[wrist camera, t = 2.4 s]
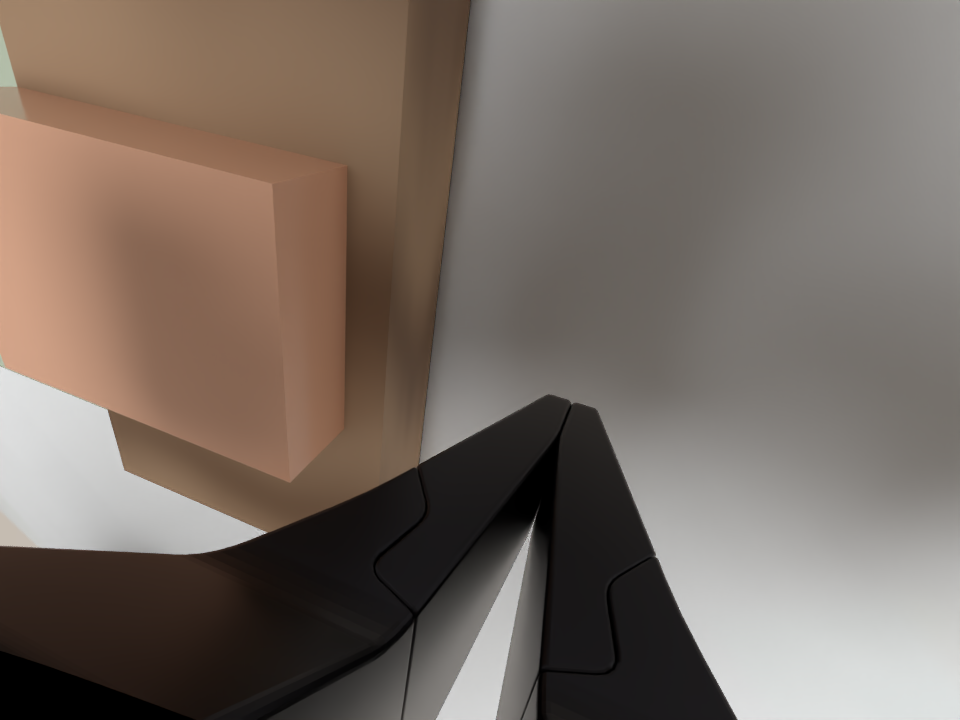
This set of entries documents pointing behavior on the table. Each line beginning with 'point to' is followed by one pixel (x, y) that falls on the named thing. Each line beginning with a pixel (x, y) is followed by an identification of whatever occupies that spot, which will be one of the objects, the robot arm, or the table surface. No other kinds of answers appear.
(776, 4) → the table surface
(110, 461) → the table surface
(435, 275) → the walnut stand
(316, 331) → the terracotta tile
